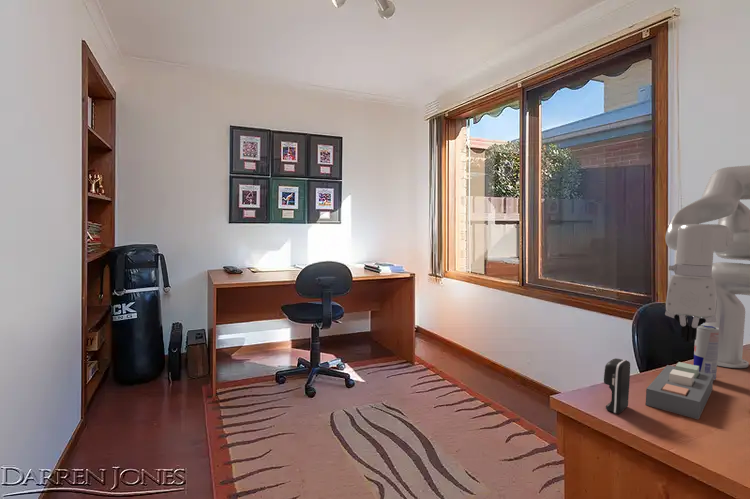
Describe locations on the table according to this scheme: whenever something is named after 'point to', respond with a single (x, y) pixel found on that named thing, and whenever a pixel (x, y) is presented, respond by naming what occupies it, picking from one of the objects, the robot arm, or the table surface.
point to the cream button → (681, 377)
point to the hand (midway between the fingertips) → (688, 341)
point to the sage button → (688, 368)
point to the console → (679, 403)
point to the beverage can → (706, 349)
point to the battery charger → (618, 384)
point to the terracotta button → (675, 389)
